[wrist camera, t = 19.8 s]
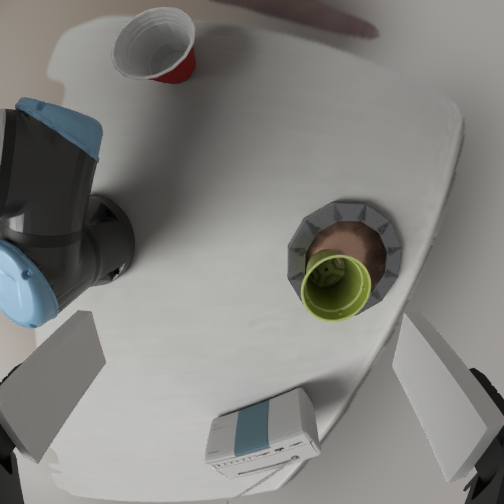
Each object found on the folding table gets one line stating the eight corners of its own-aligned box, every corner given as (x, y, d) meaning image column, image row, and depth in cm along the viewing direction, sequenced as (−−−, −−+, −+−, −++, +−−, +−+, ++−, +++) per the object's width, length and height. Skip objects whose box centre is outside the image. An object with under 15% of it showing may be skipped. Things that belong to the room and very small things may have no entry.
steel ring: (286, 312, 49) (287, 318, 48) (287, 201, 44) (288, 203, 43) (388, 308, 49) (392, 313, 47) (400, 203, 43) (405, 205, 42)
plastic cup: (219, 38, 37) (204, 3, 26) (204, 101, 40) (182, 82, 29) (154, 35, 37) (123, 6, 26) (138, 95, 40) (100, 80, 29)
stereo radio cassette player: (300, 380, 54) (309, 465, 35) (317, 405, 56) (330, 484, 37) (210, 414, 58) (194, 490, 39) (232, 435, 60) (222, 507, 40)
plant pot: (284, 258, 46) (287, 280, 38) (337, 226, 44) (352, 241, 36) (313, 305, 48) (321, 333, 40) (363, 276, 46) (381, 299, 38)
